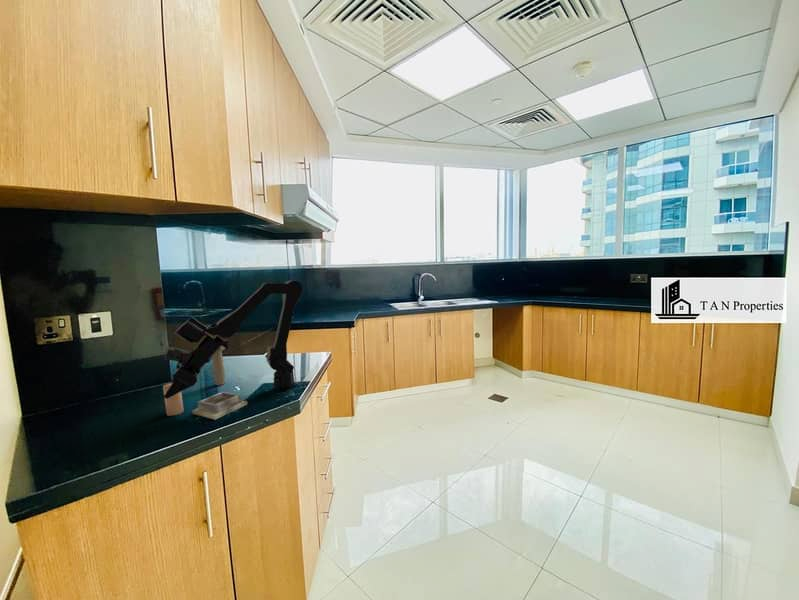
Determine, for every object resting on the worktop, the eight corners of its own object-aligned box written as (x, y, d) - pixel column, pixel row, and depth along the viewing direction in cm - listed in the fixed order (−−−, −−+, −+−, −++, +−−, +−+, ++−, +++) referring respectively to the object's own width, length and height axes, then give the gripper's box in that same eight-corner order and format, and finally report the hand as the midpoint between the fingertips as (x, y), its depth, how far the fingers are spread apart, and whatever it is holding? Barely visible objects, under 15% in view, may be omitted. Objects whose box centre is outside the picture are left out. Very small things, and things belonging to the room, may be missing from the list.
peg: (178, 408, 105) (175, 381, 104) (186, 410, 103) (183, 383, 102) (163, 414, 101) (159, 386, 100) (171, 416, 99) (168, 388, 98)
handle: (231, 382, 127) (227, 345, 126) (214, 388, 122) (209, 349, 121) (225, 380, 130) (221, 343, 129) (208, 385, 125) (204, 347, 124)
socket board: (225, 399, 110) (224, 389, 110) (247, 404, 105) (246, 394, 105) (192, 413, 101) (191, 402, 100) (215, 419, 96) (213, 408, 95)
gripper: (183, 332, 110) (146, 371, 105) (178, 342, 94) (135, 388, 89) (212, 351, 114) (179, 389, 110) (213, 363, 98) (173, 408, 94)
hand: (167, 393), depth 101 cm, fingers open, 9 cm apart
